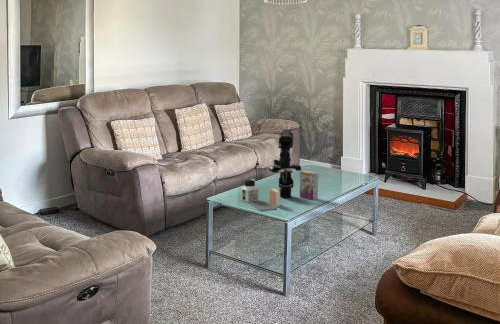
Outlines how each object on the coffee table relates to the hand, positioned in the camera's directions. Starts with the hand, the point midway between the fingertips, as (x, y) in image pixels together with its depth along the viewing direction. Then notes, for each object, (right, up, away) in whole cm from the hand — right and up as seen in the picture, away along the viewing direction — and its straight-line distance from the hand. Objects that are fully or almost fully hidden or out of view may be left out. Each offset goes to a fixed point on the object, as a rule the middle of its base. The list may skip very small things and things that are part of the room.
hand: (284, 182), depth 351 cm
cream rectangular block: (-6, -13, 0) cm, 15 cm away
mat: (-13, -14, -2) cm, 19 cm away
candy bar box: (+16, -10, +16) cm, 25 cm away
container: (-21, -11, +10) cm, 26 cm away
